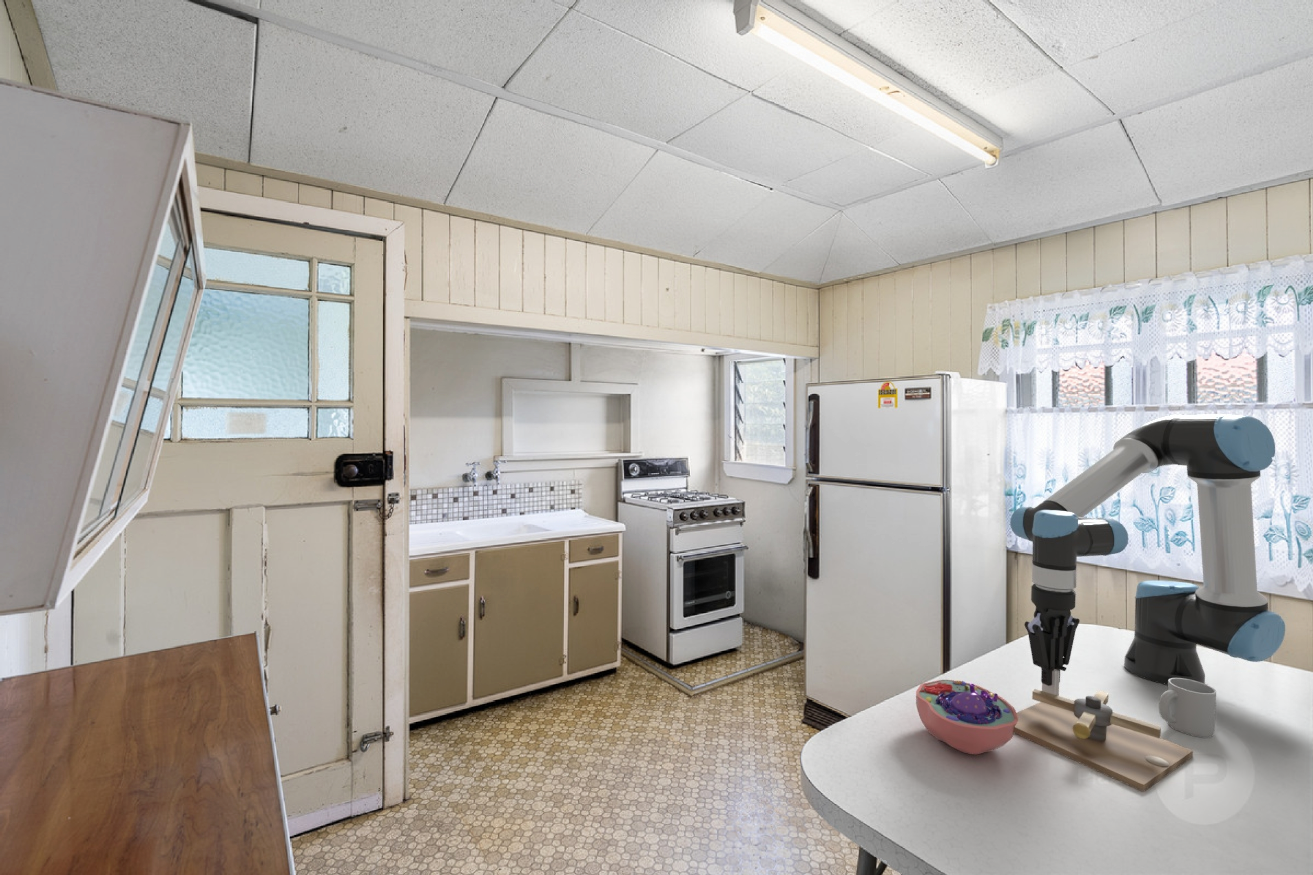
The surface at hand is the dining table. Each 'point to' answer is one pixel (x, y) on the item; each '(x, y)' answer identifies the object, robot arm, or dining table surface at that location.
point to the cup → (1189, 707)
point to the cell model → (965, 715)
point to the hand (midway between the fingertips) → (1050, 698)
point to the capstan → (1095, 714)
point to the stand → (1103, 746)
